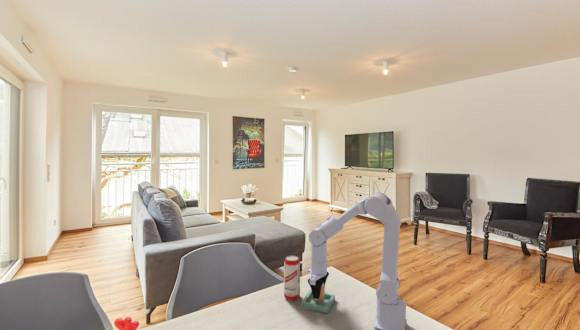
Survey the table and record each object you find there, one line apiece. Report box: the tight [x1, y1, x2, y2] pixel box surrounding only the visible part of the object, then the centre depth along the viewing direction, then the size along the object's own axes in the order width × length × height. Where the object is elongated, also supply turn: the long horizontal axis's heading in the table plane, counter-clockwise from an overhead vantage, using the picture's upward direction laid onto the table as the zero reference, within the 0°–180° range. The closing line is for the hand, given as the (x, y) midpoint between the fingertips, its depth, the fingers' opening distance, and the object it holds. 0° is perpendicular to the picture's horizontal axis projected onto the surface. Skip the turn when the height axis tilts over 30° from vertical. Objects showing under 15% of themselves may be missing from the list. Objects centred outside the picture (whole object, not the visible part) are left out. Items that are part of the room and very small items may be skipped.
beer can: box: [283, 254, 301, 302], centre depth 109 cm, size 6×6×16 cm
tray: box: [300, 289, 336, 315], centre depth 105 cm, size 10×10×2 cm
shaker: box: [312, 280, 326, 302], centre depth 105 cm, size 5×5×6 cm
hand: (318, 294), depth 105 cm, fingers closed on shaker, 5 cm apart
